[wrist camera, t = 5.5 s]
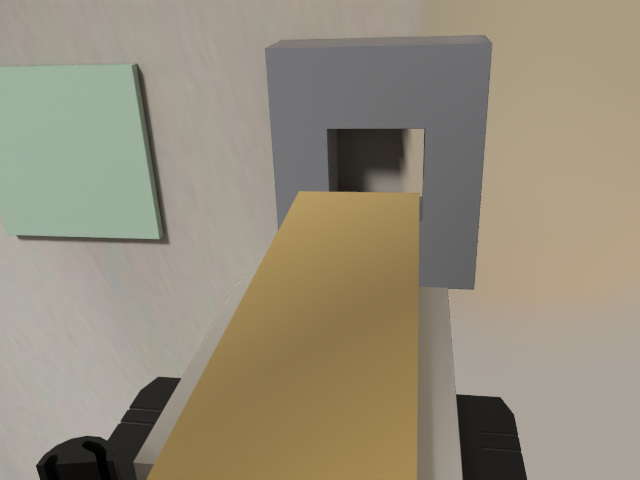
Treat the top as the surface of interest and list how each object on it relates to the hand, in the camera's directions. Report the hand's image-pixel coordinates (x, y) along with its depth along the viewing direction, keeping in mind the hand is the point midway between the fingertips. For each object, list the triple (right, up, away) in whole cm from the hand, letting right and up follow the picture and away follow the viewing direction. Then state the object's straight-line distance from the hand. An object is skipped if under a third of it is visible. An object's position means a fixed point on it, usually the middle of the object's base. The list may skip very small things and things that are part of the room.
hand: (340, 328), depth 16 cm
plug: (+1, +2, +5) cm, 5 cm away
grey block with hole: (+3, +7, +16) cm, 18 cm away
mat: (-15, +7, +19) cm, 25 cm away
